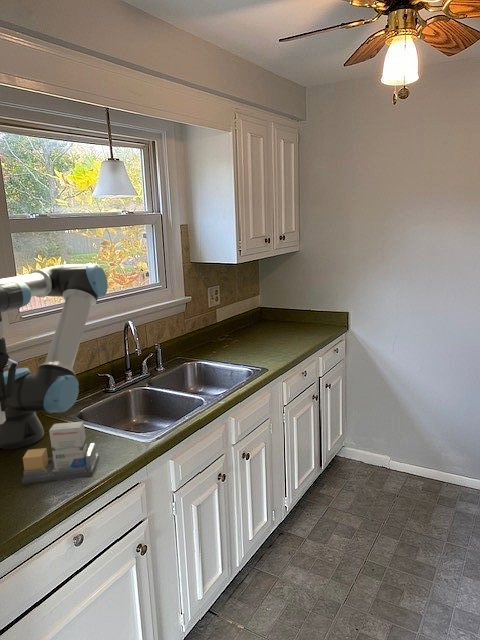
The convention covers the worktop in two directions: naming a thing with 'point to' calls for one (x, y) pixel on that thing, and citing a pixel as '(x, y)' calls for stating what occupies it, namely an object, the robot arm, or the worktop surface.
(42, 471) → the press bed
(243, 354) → the worktop surface
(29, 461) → the tan wooden cube
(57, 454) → the ink box
